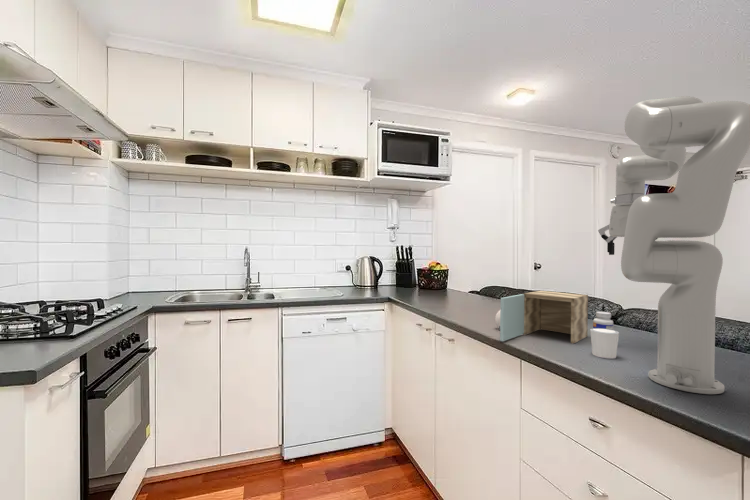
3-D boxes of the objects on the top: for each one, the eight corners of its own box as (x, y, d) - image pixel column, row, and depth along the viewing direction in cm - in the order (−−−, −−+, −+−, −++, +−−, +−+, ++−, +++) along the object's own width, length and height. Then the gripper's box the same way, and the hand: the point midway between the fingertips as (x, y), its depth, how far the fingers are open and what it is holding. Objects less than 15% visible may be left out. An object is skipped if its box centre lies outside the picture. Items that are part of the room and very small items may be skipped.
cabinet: (573, 343, 111) (574, 298, 111) (523, 334, 122) (523, 293, 122) (587, 336, 120) (587, 294, 120) (539, 328, 132) (539, 290, 132)
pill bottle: (588, 341, 114) (589, 311, 114) (601, 340, 115) (601, 310, 115) (604, 346, 108) (604, 314, 108) (617, 344, 110) (617, 313, 110)
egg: (491, 329, 130) (492, 308, 130) (500, 327, 134) (500, 307, 134) (507, 332, 125) (507, 310, 125) (515, 329, 129) (516, 309, 129)
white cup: (624, 357, 97) (625, 332, 97) (607, 360, 94) (608, 334, 94) (600, 350, 103) (601, 327, 103) (584, 353, 101) (584, 328, 101)
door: (495, 339, 112) (496, 297, 112) (517, 332, 123) (517, 293, 123) (503, 341, 111) (503, 298, 111) (523, 333, 121) (524, 294, 121)
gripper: (595, 202, 116) (594, 254, 116) (661, 197, 103) (661, 255, 103) (602, 204, 121) (602, 254, 121) (667, 199, 108) (666, 255, 108)
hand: (629, 255), depth 112 cm, fingers open, 9 cm apart
